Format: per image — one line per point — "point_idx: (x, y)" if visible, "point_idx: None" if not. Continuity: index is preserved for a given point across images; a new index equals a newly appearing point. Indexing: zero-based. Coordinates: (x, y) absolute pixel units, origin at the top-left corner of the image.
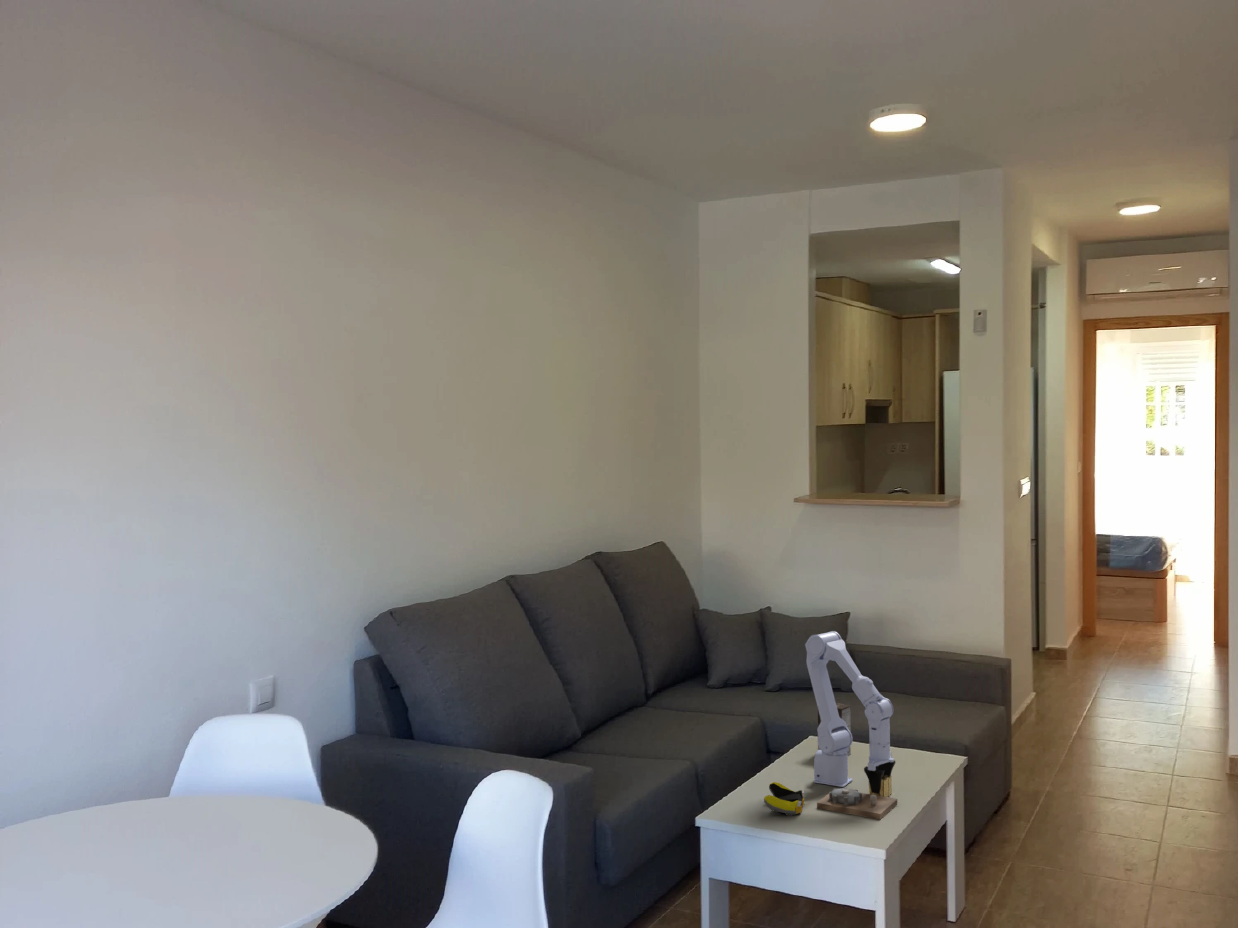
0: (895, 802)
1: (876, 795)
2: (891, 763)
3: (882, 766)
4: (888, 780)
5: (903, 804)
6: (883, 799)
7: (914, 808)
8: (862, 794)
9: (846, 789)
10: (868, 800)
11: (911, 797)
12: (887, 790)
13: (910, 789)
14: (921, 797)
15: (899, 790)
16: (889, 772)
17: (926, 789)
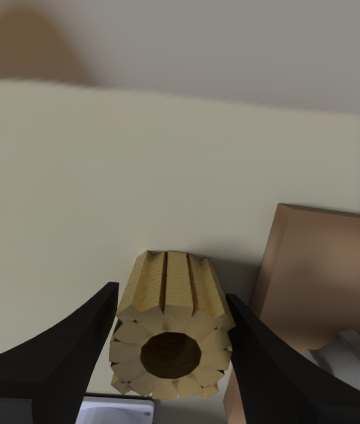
0: (311, 210)
1: (266, 296)
2: (43, 400)
3: (68, 410)
4: (191, 300)
5: (274, 178)
6: (314, 262)
7: (318, 120)
8: None
9: None
10: (338, 310)
11: (165, 161)
12: (196, 271)
13: (50, 186)
14: (146, 113)
15: (90, 228)
16: (87, 330)
17: (5, 108)
